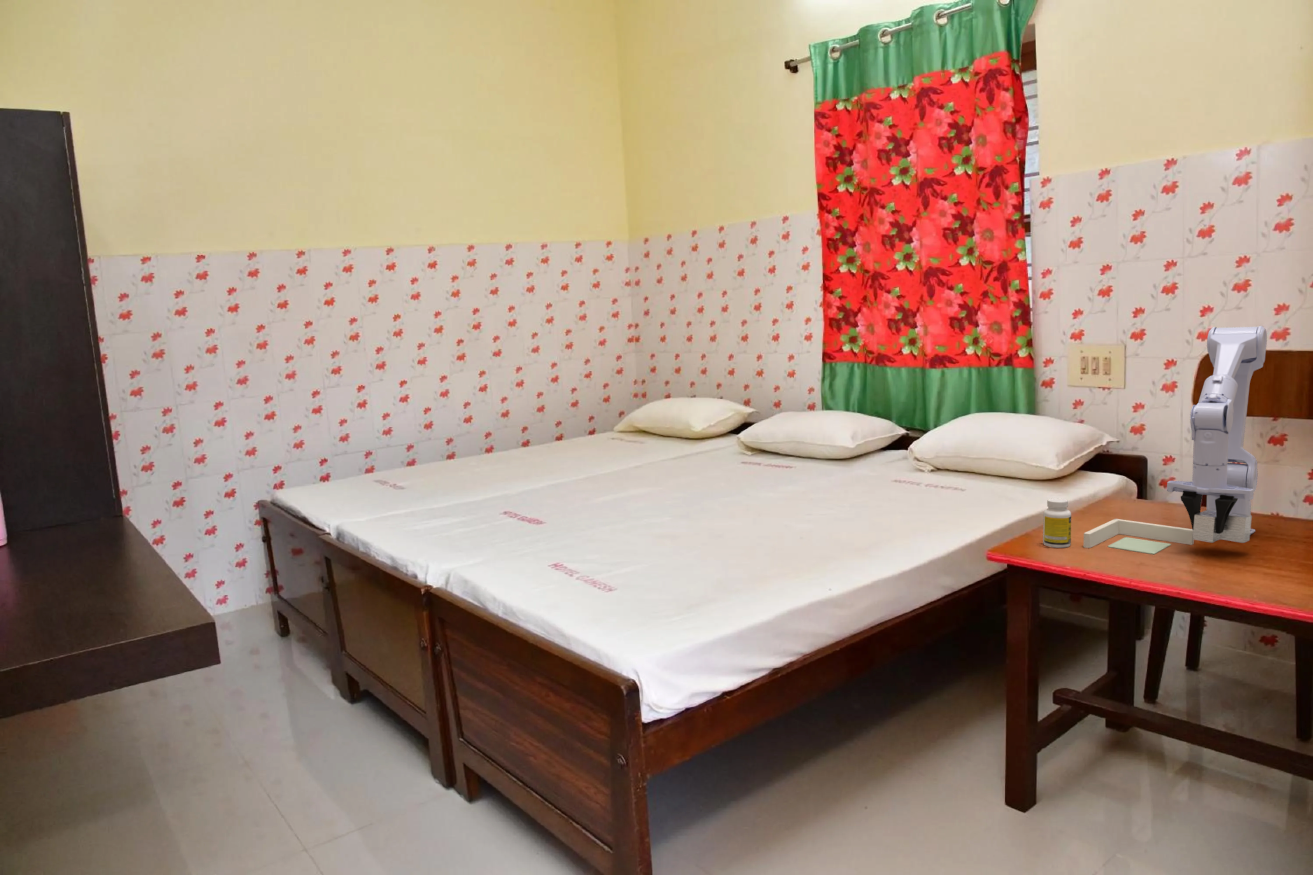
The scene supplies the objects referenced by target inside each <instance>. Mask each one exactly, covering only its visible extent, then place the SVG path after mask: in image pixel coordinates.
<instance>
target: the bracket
mask: <svg viewBox="0 0 1313 875" xmlns="http://www.w3.org/2000/svg"><path fill="white" fill-rule="evenodd" d="M1216 518H1217V516H1216V510H1211V509H1208V510H1207V509H1206V510H1202V511H1200V513H1198V514H1195V516H1194V528H1193V540H1194V541H1200V542H1206V543H1212V544H1213V543H1215V542H1217V541H1220V540H1224V541H1229V542H1230V541H1231V542H1235V543H1241V544H1245V543H1247V542H1249V541H1250V538H1251V534H1250V529H1252V518H1253V516H1252V515H1245V514H1238V513H1231V512H1230V513H1229V515H1228V518H1227V520H1226V523H1225V526H1224V531H1223V532H1222V533H1220V534H1218V533H1216Z"/></svg>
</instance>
